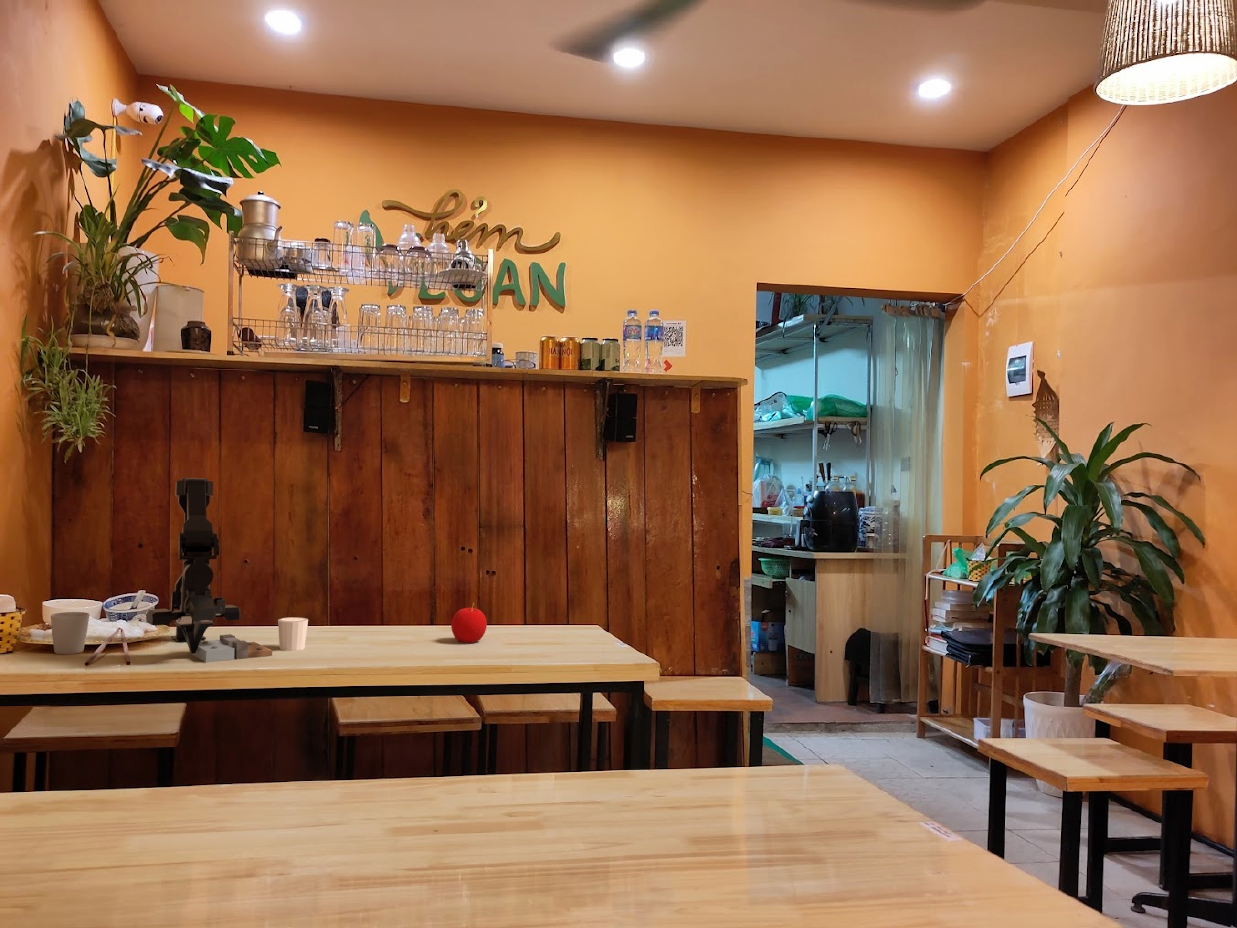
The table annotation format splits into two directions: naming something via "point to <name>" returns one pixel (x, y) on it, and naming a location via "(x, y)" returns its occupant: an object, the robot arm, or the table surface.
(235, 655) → the leaf
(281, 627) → the pale pink tumbler
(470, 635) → the fruit
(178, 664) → the table surface
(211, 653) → the leaf
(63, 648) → the cup
